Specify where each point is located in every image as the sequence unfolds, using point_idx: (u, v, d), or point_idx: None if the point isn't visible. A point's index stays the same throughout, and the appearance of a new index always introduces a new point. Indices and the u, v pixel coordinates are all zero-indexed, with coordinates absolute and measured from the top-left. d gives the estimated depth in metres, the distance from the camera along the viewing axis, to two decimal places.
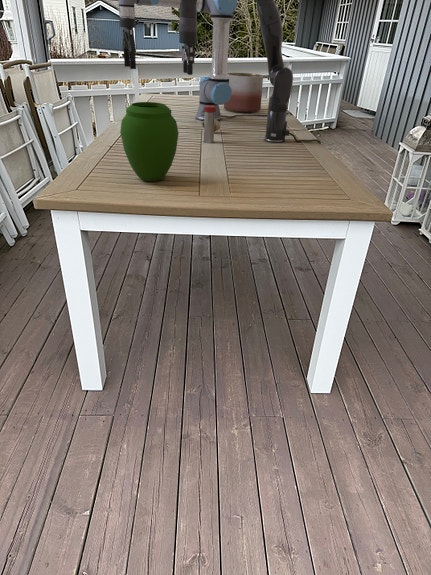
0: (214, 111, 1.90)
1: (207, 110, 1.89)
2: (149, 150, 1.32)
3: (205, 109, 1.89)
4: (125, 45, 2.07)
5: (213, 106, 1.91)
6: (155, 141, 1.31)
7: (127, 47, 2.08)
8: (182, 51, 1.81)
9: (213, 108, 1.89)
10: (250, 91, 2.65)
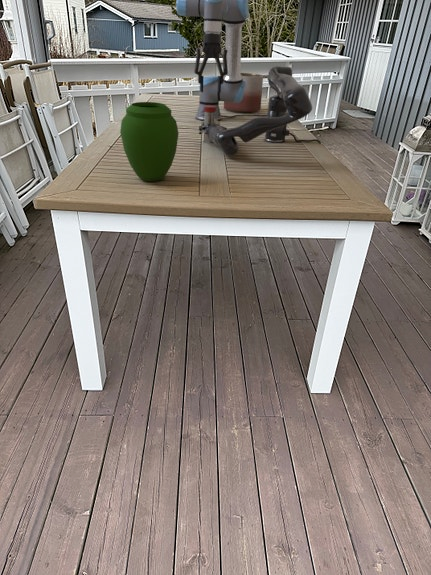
0: (214, 111, 1.90)
1: (207, 110, 1.89)
2: (149, 150, 1.32)
3: (205, 109, 1.89)
4: (217, 66, 1.83)
5: (213, 106, 1.91)
6: (155, 141, 1.31)
7: (219, 69, 1.83)
8: (223, 127, 1.92)
9: (213, 108, 1.89)
10: (250, 91, 2.65)
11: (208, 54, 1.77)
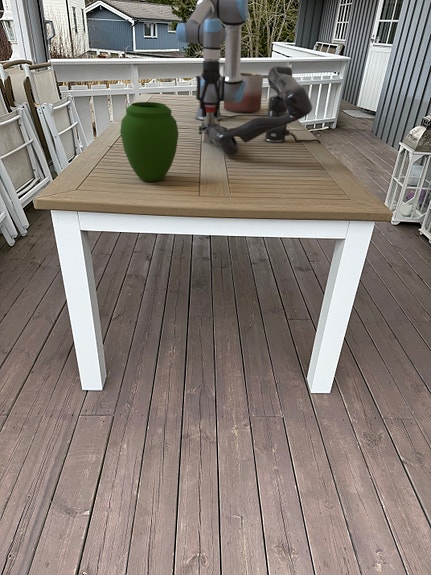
0: (214, 111, 1.90)
1: (207, 110, 1.89)
2: (149, 150, 1.32)
3: (205, 109, 1.89)
4: (215, 92, 1.88)
5: (213, 106, 1.91)
6: (155, 141, 1.31)
7: (216, 95, 1.88)
8: (223, 127, 1.92)
9: (213, 108, 1.89)
10: (250, 91, 2.65)
11: (208, 81, 1.83)
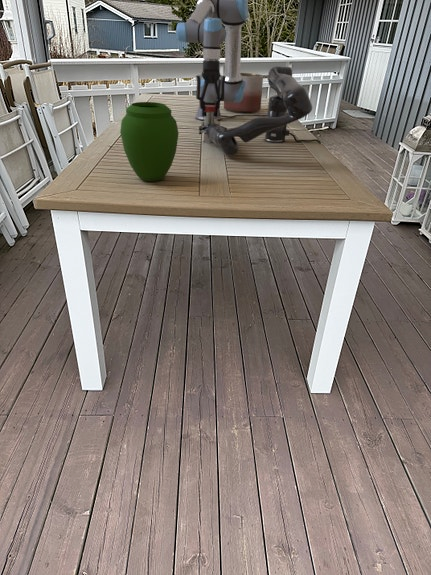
0: None
1: (214, 110, 1.90)
2: (149, 150, 1.32)
3: (212, 109, 1.89)
4: (215, 91, 1.88)
5: (210, 105, 1.92)
6: (155, 141, 1.31)
7: (216, 94, 1.88)
8: (223, 127, 1.92)
9: None
10: (250, 91, 2.65)
11: (208, 80, 1.83)
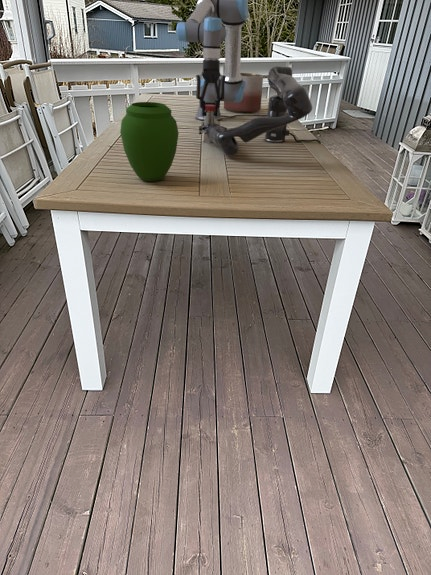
0: None
1: None
2: (149, 150, 1.32)
3: (215, 108, 1.91)
4: (215, 91, 1.88)
5: (206, 105, 1.91)
6: (155, 141, 1.31)
7: (216, 94, 1.88)
8: (223, 127, 1.92)
9: None
10: (250, 91, 2.65)
11: (208, 79, 1.83)
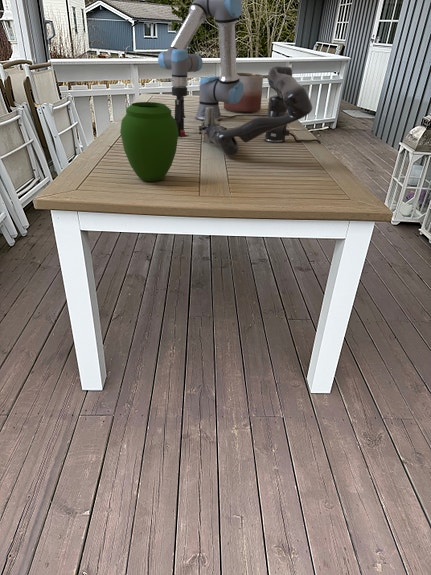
0: None
1: None
2: (149, 150, 1.32)
3: None
4: None
5: None
6: (155, 141, 1.31)
7: (181, 113, 2.08)
8: (223, 127, 1.92)
9: None
10: (250, 91, 2.65)
11: (182, 104, 1.99)
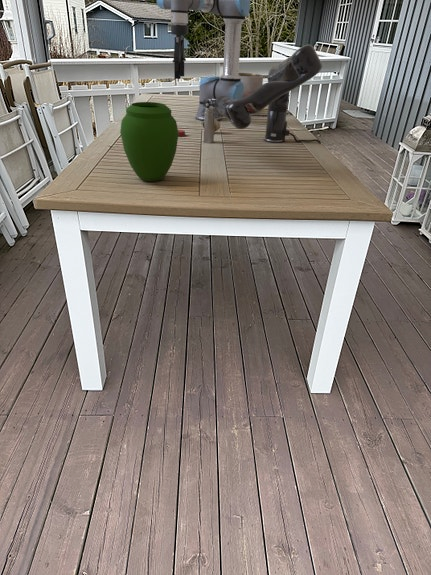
0: None
1: None
2: (149, 150, 1.32)
3: None
4: None
5: None
6: (155, 141, 1.31)
7: (182, 56, 1.95)
8: None
9: None
10: (250, 91, 2.65)
11: (182, 44, 1.85)
